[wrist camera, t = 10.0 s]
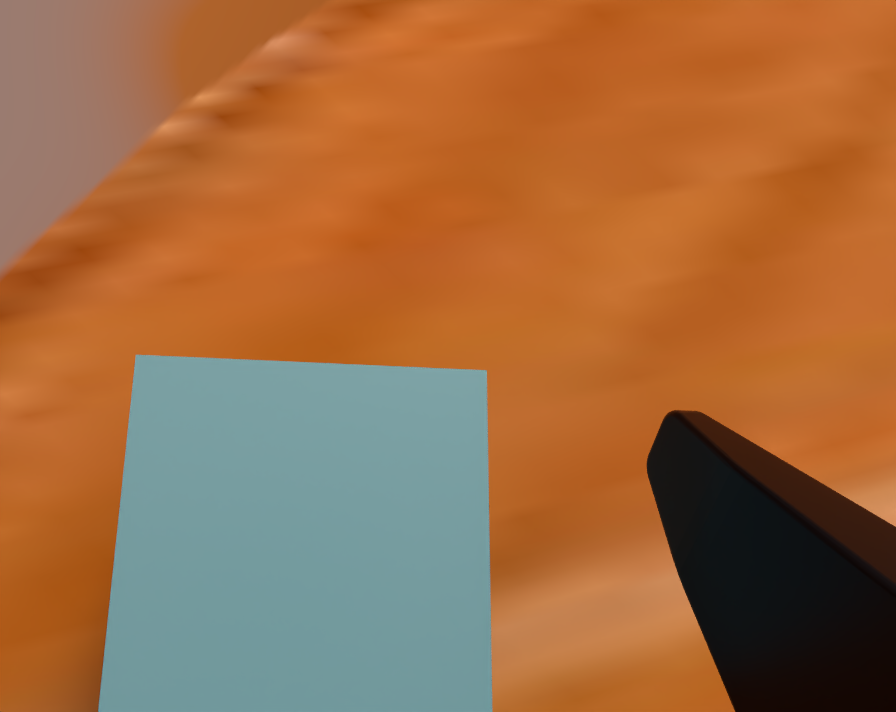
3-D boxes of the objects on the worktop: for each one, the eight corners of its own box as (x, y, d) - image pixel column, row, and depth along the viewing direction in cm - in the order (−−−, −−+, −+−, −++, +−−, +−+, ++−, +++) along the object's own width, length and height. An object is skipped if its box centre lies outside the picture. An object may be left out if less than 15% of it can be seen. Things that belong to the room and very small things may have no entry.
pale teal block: (394, 620, 18) (492, 728, 9) (197, 628, 17) (92, 760, 8) (396, 434, 19) (486, 370, 10) (213, 430, 18) (135, 355, 9)
